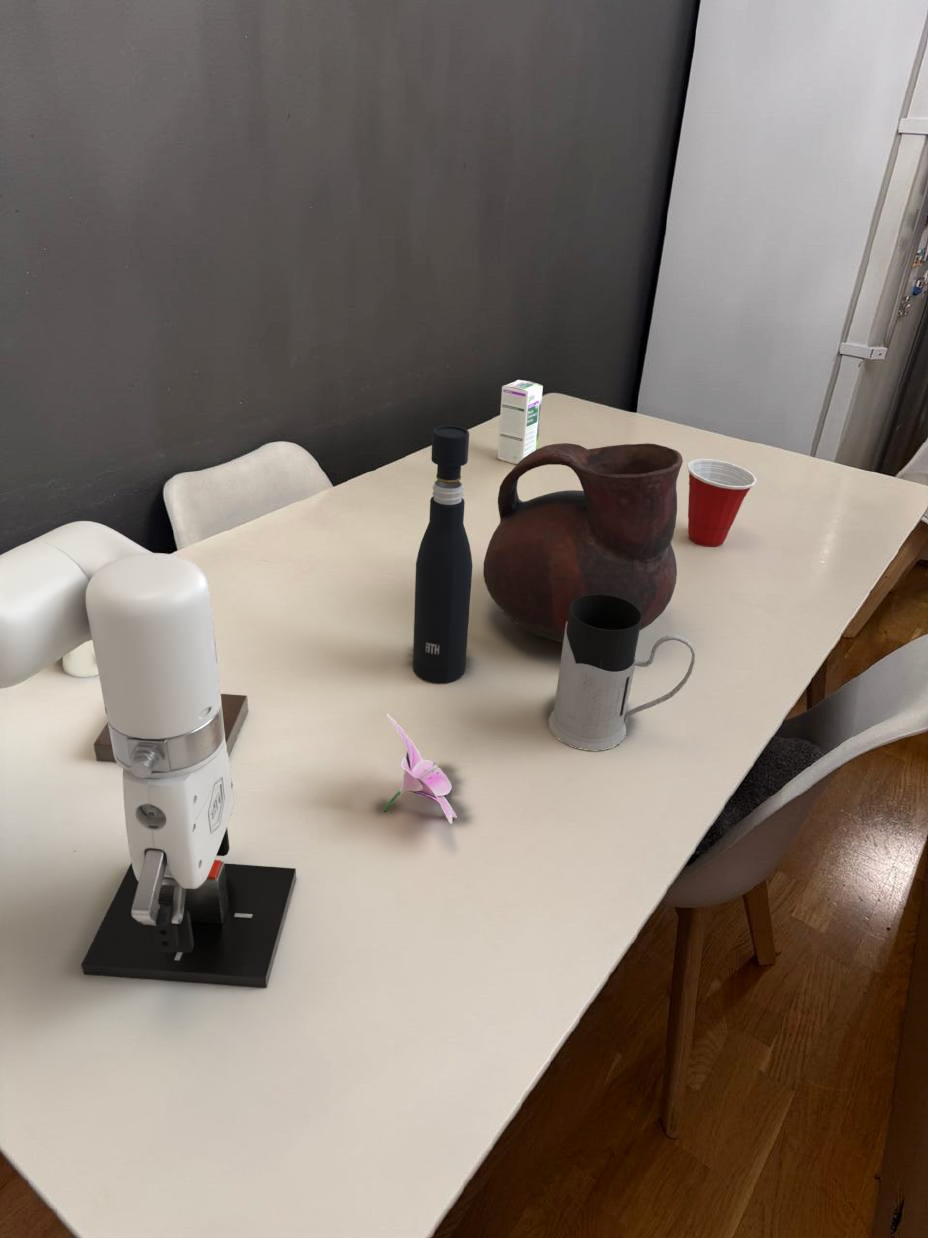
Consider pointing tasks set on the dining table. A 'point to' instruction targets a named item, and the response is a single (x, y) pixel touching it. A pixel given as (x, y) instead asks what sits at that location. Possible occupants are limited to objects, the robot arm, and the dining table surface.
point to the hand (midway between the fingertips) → (192, 897)
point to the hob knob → (203, 896)
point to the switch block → (232, 718)
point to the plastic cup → (715, 499)
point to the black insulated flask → (444, 568)
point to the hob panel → (201, 934)
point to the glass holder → (600, 672)
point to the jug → (586, 535)
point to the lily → (422, 776)
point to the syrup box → (519, 420)
